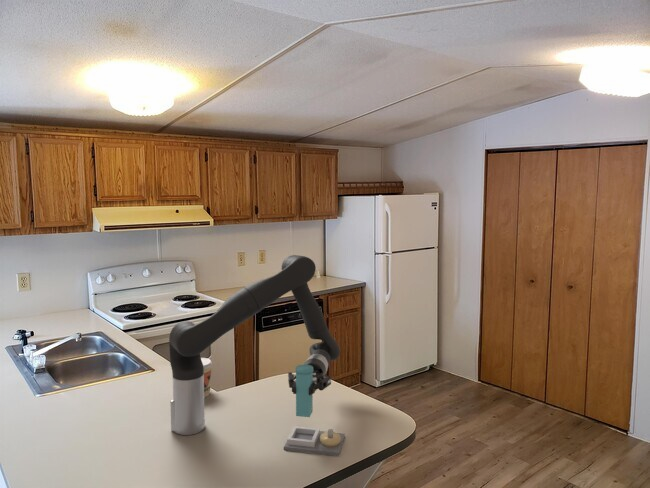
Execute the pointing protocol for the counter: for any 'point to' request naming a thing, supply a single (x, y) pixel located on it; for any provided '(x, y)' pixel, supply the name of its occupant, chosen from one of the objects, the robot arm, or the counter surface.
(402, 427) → the counter surface
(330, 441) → the housing
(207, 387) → the coffee cup
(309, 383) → the lidded tumbler
